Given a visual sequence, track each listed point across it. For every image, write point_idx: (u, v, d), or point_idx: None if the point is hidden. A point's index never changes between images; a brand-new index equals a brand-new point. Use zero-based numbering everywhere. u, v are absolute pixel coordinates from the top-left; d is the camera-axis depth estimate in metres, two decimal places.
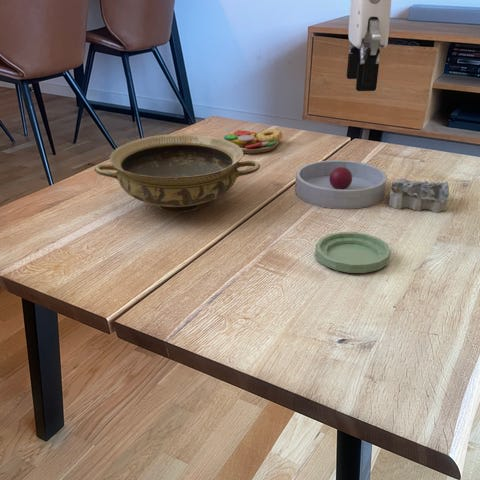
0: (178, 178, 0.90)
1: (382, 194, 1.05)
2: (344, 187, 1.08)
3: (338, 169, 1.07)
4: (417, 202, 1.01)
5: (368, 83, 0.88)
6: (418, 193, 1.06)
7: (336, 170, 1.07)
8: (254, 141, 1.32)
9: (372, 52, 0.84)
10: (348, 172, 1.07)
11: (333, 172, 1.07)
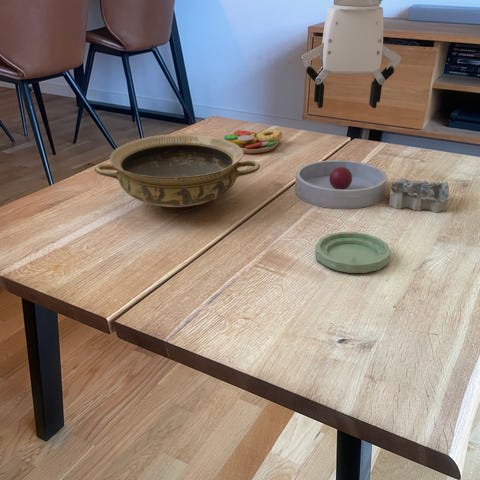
0: (178, 178, 0.90)
1: (382, 194, 1.05)
2: (344, 187, 1.08)
3: (338, 169, 1.07)
4: (417, 202, 1.01)
5: None
6: (418, 193, 1.06)
7: (336, 170, 1.07)
8: (254, 141, 1.32)
9: (393, 70, 0.97)
10: (348, 172, 1.07)
11: (333, 172, 1.07)
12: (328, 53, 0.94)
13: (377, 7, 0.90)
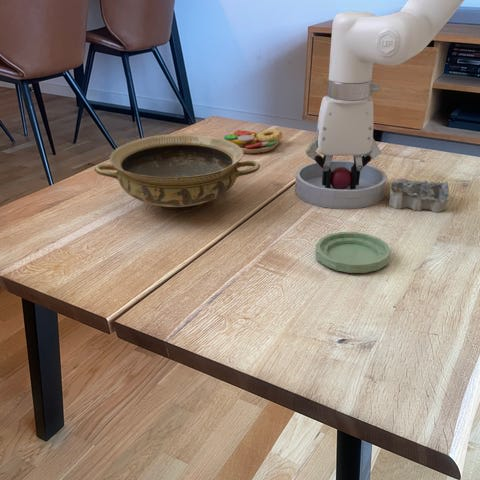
0: (178, 178, 0.90)
1: (382, 194, 1.05)
2: (344, 187, 1.08)
3: (338, 169, 1.07)
4: (417, 201, 1.01)
5: None
6: (418, 193, 1.06)
7: (336, 170, 1.07)
8: (254, 141, 1.32)
9: None
10: (348, 172, 1.07)
11: (333, 172, 1.07)
12: (323, 139, 1.02)
13: (367, 100, 0.98)
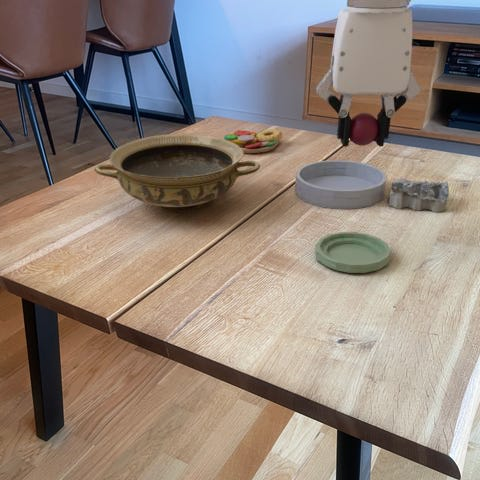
0: (178, 178, 0.90)
1: (382, 194, 1.05)
2: (368, 141, 0.78)
3: (360, 115, 0.77)
4: (417, 201, 1.01)
5: None
6: (418, 193, 1.07)
7: (357, 117, 0.77)
8: (254, 141, 1.32)
9: None
10: (374, 119, 0.77)
11: (353, 120, 0.78)
12: (340, 69, 0.72)
13: (405, 9, 0.69)
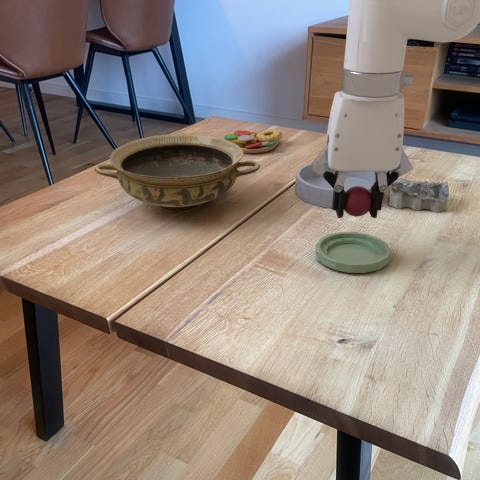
0: (178, 178, 0.90)
1: None
2: (362, 213, 0.81)
3: (354, 189, 0.80)
4: (417, 201, 1.01)
5: None
6: (418, 193, 1.07)
7: (351, 191, 0.80)
8: (254, 141, 1.32)
9: None
10: (367, 193, 0.80)
11: (347, 193, 0.80)
12: (335, 149, 0.75)
13: (397, 96, 0.71)
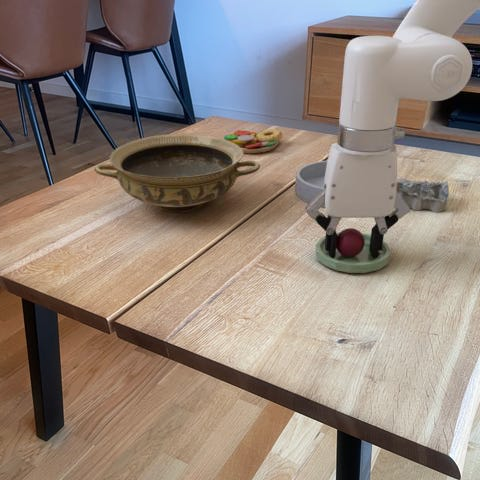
0: (178, 178, 0.90)
1: None
2: (356, 253, 0.84)
3: (344, 233, 0.84)
4: (417, 201, 1.01)
5: None
6: (418, 193, 1.07)
7: (342, 235, 0.84)
8: (254, 141, 1.32)
9: None
10: (357, 234, 0.84)
11: (339, 238, 0.84)
12: (331, 198, 0.79)
13: (390, 150, 0.75)
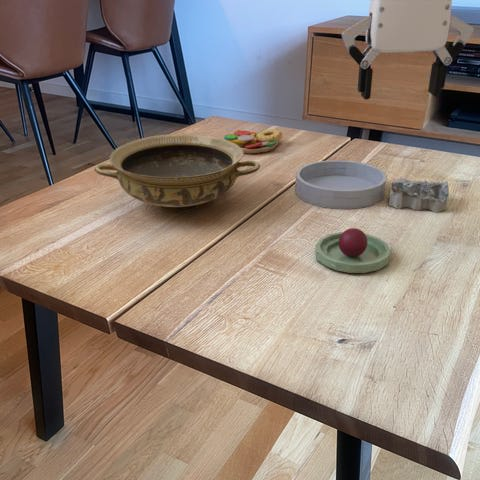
0: (178, 178, 0.90)
1: (382, 194, 1.05)
2: (357, 254, 0.85)
3: (350, 232, 0.84)
4: (417, 201, 1.01)
5: None
6: (418, 193, 1.07)
7: (347, 233, 0.84)
8: (254, 141, 1.32)
9: None
10: (363, 236, 0.84)
11: (343, 235, 0.84)
12: (379, 26, 0.71)
13: None
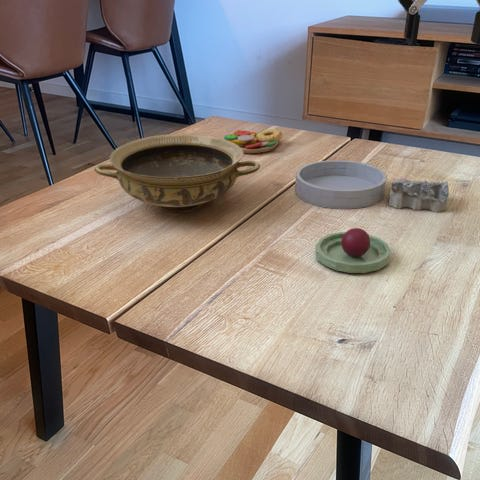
0: (178, 178, 0.90)
1: (382, 194, 1.05)
2: (359, 255, 0.85)
3: (356, 231, 0.84)
4: (417, 201, 1.01)
5: None
6: (418, 193, 1.07)
7: (353, 232, 0.84)
8: (254, 141, 1.32)
9: None
10: (367, 237, 0.84)
11: (349, 233, 0.84)
12: None
13: None
